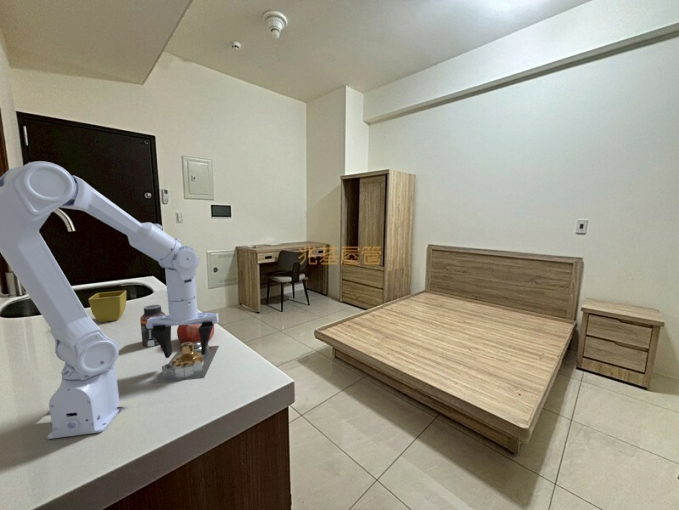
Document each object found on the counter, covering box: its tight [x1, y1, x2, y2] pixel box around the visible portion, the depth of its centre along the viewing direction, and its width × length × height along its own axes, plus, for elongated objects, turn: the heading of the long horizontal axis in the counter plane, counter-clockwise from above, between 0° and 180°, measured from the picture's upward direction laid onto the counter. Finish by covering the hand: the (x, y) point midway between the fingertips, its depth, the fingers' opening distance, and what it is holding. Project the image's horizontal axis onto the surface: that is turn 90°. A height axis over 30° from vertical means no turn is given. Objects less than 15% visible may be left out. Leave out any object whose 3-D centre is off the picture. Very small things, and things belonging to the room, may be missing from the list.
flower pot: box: [88, 290, 127, 323], centre depth 101 cm, size 9×9×9 cm
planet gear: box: [172, 342, 203, 366], centre depth 68 cm, size 6×6×5 cm
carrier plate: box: [153, 345, 220, 384], centre depth 70 cm, size 16×10×1 cm, turn 12°
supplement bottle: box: [140, 304, 166, 348], centre depth 80 cm, size 6×6×11 cm
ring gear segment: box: [161, 361, 203, 379], centre depth 64 cm, size 3×8×2 cm, turn 102°
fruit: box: [176, 324, 215, 344], centre depth 81 cm, size 9×10×10 cm
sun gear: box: [193, 341, 210, 356], centre depth 74 cm, size 6×6×2 cm
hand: (186, 354), depth 67 cm, fingers open, 7 cm apart
